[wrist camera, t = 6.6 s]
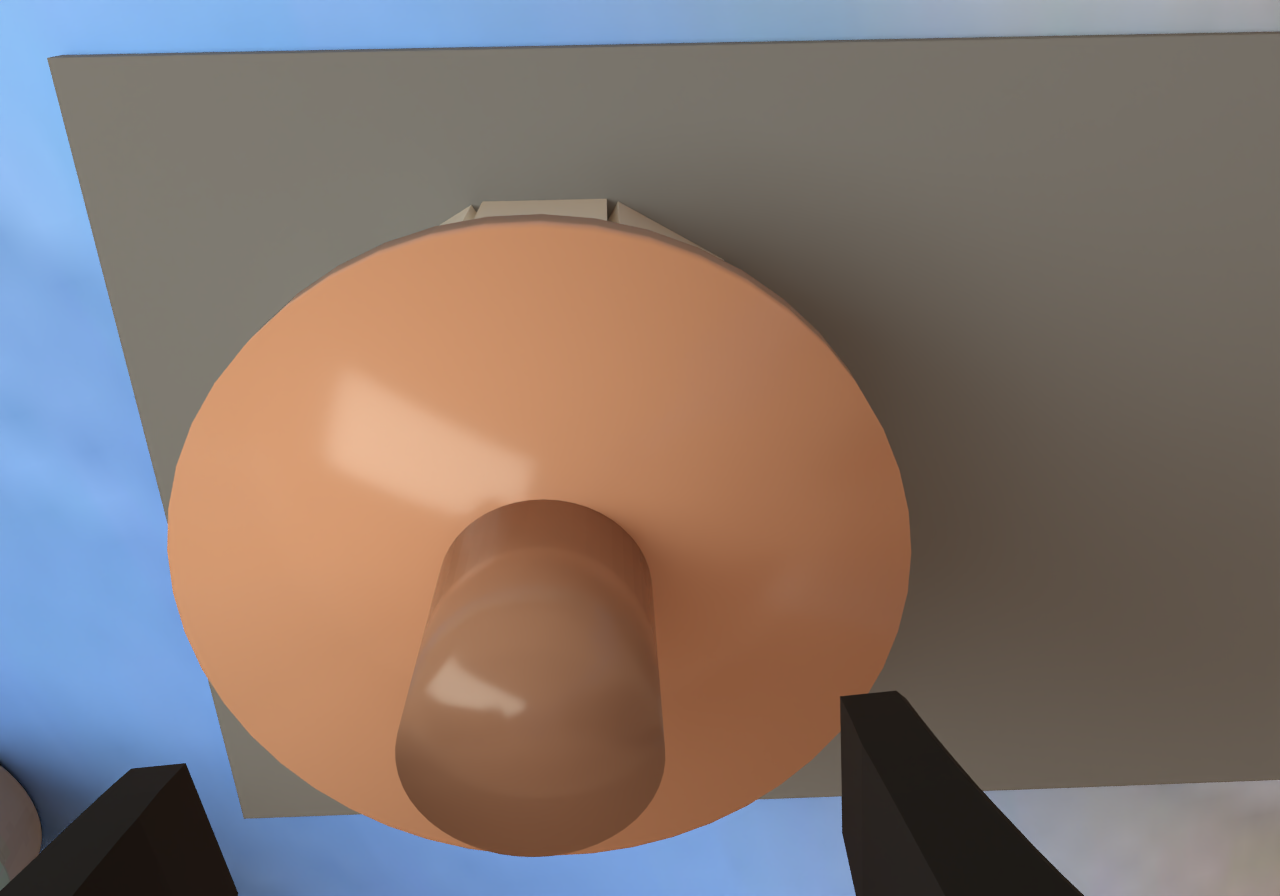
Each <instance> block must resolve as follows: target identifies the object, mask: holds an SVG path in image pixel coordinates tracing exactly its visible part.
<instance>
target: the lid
mask: <svg viewBox="0 0 1280 896" xmlns="http://www.w3.org/2000/svg"><path fill="white" fill-rule="evenodd" d="M167 552H168V559H169V566H170V574H171V581H172V588H173V594H174V597H175V601H176V604H177V607H178V611H179V614H180V617H181V621H182V624H183V627H184V631H185V633H186V636H187V638H188V640H189V642H190V644H191V646H192V648H193V651H194V653H195V655H196V657H197V659H198V661H199V664H200V666H201V668H202V670H203V671H204V673H205V674H206V676H207V678H208V679H209V681H210V682H211V684H212V685H213V687H214V689H215V690H216V692H217V693H218V695H219V696H220V698H221V699H222V701H223V703H224V704H225V705H226V706H227V708H228V709H229V710H230V711H231V712H232V714H233V715H234V716H235V717H236V718H237V719H238V721H239V722H240V723H241V724H242V725H243V727H244V728H245V729H246V730H247V731H248V733H249V734H250V735H251V736H252V737H253V738H254V739H255V740H256V741H258V742H259V743H260V744H261V745H262V746H263V747H264V748H265V749H266V750H267V751H268V752H269V753H270V754H271V755H273V756H274V757H275V758H276V759H277V760H278V761H279V762H280V763H281V764H283V765H284V766H285V767H287V768H288V769H289V770H291V771H292V772H293V773H295V774H296V775H297V776H299V777H300V778H302V779H303V780H304V781H306V782H307V783H308V784H310V785H311V786H312V787H314V788H315V789H317V790H319V791H320V792H322V793H324V794H326V795H327V796H329V797H331V798H332V799H334V800H336V801H338V802H339V803H341V804H343V805H345V806H346V807H348V808H350V809H352V810H354V811H356V812H358V813H361V814H363V815H365V816H367V817H370V818H372V819H374V820H376V821H378V822H381V823H383V824H385V825H387V826H390V827H393V828H396V829H399V830H402V831H405V832H408V833H411V834H414V835H417V836H420V837H423V838H426V839H429V840H434V841H438V842H442V843H447V844H451V845H455V846H460V847H464V848H468V849H476V850H483V851H490V852H494V853H498V854H504V855H512V856H523V857H541V856H554V855H569V854H586V853H597V852H603V851H610V850H616V849H623V848H629V847H635V846H639V845H643V844H647V843H651V842H655V841H658V840H662V839H666V838H670V837H674V836H677V835H679V834H682V833H685V832H688V831H690V830H693V829H696V828H699V827H701V826H704V825H707V824H710V823H712V822H714V821H716V820H718V819H720V818H722V817H724V816H727V815H729V814H731V813H733V812H735V811H737V810H739V809H741V808H743V807H745V806H747V805H749V804H750V803H752V802H754V801H755V800H757V799H758V798H760V797H762V796H763V795H765V794H766V793H768V792H770V791H771V790H773V789H775V788H776V787H778V786H779V785H781V784H782V783H783V782H785V781H786V780H787V779H788V778H790V777H791V776H792V775H794V774H795V773H796V772H797V771H799V770H800V769H801V768H802V767H804V766H805V765H806V764H807V763H809V762H810V761H811V760H812V759H813V758H814V757H815V756H816V755H817V754H818V753H819V752H820V751H821V750H822V749H823V748H824V747H825V746H826V745H827V744H828V743H829V742H830V741H831V740H832V739H833V738H834V737H835V736H836V735H837V734H838V733H839V732H840V731H841V726H840V696H847V695H857V694H867V693H869V691H870V689H871V688H872V686H873V684H874V682H875V681H876V679H877V677H878V676H879V674H880V672H881V670H882V669H883V667H884V664H885V662H886V659H887V657H888V655H889V652H890V650H891V647H892V645H893V642H894V640H895V637H896V635H897V633H898V629H899V625H900V621H901V617H902V613H903V609H904V605H905V601H906V597H907V593H908V583H909V572H910V561H911V540H910V524H909V511H908V506H907V502H906V497H905V492H904V488H903V483H902V479H901V474H900V470H899V467H898V465H897V462H896V460H895V457H894V455H893V452H892V450H891V447H890V444H889V442H888V439H887V437H886V434H885V432H884V429H883V427H882V426H881V424H880V422H879V421H878V419H877V417H876V415H875V414H874V412H873V410H872V409H871V407H870V405H869V403H868V402H867V400H866V398H865V396H864V395H863V393H862V391H861V390H860V388H859V386H858V385H857V383H856V381H855V380H854V378H853V376H852V374H851V373H850V371H849V369H848V368H847V367H846V365H845V364H844V363H843V362H842V360H841V359H840V358H839V357H838V355H837V354H836V353H835V352H834V350H833V349H832V348H831V347H830V345H829V344H828V343H827V342H826V340H825V339H824V338H823V337H822V335H821V334H820V333H819V332H818V331H817V330H816V329H815V328H814V327H813V326H812V325H811V324H810V323H809V322H808V321H807V320H806V319H804V318H803V317H802V316H801V315H800V314H799V313H798V312H797V311H796V310H795V309H794V308H793V307H792V306H791V305H789V304H788V303H787V302H786V301H785V300H784V299H783V298H781V297H780V296H778V295H777V294H776V293H774V292H773V291H771V290H770V289H769V288H767V287H766V286H764V285H763V284H761V283H760V282H759V281H757V280H756V279H754V278H753V277H751V276H750V275H749V274H747V273H746V272H744V271H743V270H741V269H739V268H737V267H735V266H733V265H731V264H729V263H727V262H725V261H723V260H721V259H719V258H717V257H716V256H714V255H712V254H710V253H708V252H706V251H704V250H702V249H700V248H698V247H695V246H693V245H690V244H687V243H684V242H681V241H679V240H676V239H673V238H670V237H667V236H665V235H662V234H659V233H656V232H653V231H651V230H648V229H643V228H638V227H634V226H629V225H624V224H620V223H615V222H610V221H606V220H601V219H596V218H585V217H573V216H560V215H548V214H531V215H511V216H491V217H483V218H478V219H472V220H467V221H461V222H456V223H450V224H445V225H439V226H434V227H431V228H428V229H425V230H422V231H419V232H416V233H413V234H410V235H407V236H404V237H401V238H398V239H395V240H392V241H389V242H385V243H383V244H381V245H379V246H377V247H375V248H373V249H371V250H369V251H367V252H365V253H363V254H361V255H359V256H357V257H355V258H353V259H351V260H348V261H346V262H344V263H342V264H340V265H338V266H337V267H336V268H334V269H333V270H331V271H330V272H328V273H327V274H325V275H324V276H322V277H321V278H319V279H318V280H316V281H315V282H313V283H312V284H311V285H309V286H308V287H306V288H305V289H303V290H302V291H300V292H299V293H297V294H296V295H295V296H294V297H293V298H292V299H291V300H290V301H289V302H288V303H287V304H286V305H284V306H283V307H282V308H281V309H280V310H279V311H278V312H277V313H276V314H275V315H274V316H273V317H271V318H270V319H269V320H268V321H267V322H266V323H265V324H264V325H263V326H262V327H261V328H260V329H259V330H258V331H257V332H256V333H255V335H254V336H253V337H252V338H251V339H250V340H249V341H248V342H247V343H246V344H245V346H244V347H243V348H242V349H241V351H240V352H239V353H238V354H237V356H236V357H235V358H234V359H233V361H232V362H231V363H230V364H229V366H228V367H227V368H226V369H225V371H224V372H223V373H222V374H221V376H220V377H219V378H218V379H217V381H216V382H215V383H214V385H213V387H212V388H211V390H210V392H209V394H208V396H207V397H206V399H205V401H204V403H203V404H202V406H201V408H200V410H199V412H198V413H197V415H196V417H195V419H194V421H193V422H192V424H191V427H190V430H189V432H188V435H187V438H186V441H185V443H184V446H183V449H182V452H181V454H180V457H179V460H178V463H177V465H176V470H175V476H174V481H173V486H172V492H171V497H170V502H169V508H168V546H167Z"/></svg>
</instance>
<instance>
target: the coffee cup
mask: <svg viewBox="0 0 1280 896" xmlns="http://www.w3.org/2000/svg"><path fill="white" fill-rule="evenodd" d="M41 841H42V831H41V824H40V820H39V817H38V813H37V811H36V809H35V806H34V804H33V802H32V801H31V799H30V797H29V796H28V794H27V793H26V791H25V790H24V788H23V787H22V786H21V785H20V784H19V782H18V781H17V780H16V779H15V778H14V777H13V776H12V775H11V774H10V773H9V772H8V771H7V770H6V769H4V768H3V767H2V766H1V765H0V891H1V890H2V889H3V888H4V887H5V886H6V885H7V884H8V883H9V882H10V881H11V880H12V879H13V878H14V877H15V876H17V875H18V874H19V873H20V872H21V871H22V870H23V869H24V868H25V867H26V866H27V865H28V864H29V863H30V862H31V861H32V860H33V859H35V858H36V857H37V856H38V855H39V852H40V848H41Z"/></svg>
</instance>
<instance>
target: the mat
mask: <svg viewBox="0 0 1280 896" xmlns="http://www.w3.org/2000/svg"><path fill="white" fill-rule="evenodd" d="M47 59H48V63H49V67H50V71H51V74H52V78H53V82H54V86H55V90H56V94H57V98H58V102H59V105H60V109H61V113H62V117H63V121H64V125H65V129H66V132H67V136H68V140H69V144H70V148H71V152H72V156H73V160H74V163H75V167H76V171H77V175H78V179H79V183H80V187H81V190H82V194H83V198H84V202H85V206H86V210H87V214H88V217H89V221H90V225H91V229H92V233H93V237H94V241H95V245H96V248H97V252H98V256H99V260H100V264H101V268H102V272H103V275H104V279H105V283H106V287H107V291H108V295H109V299H110V303H111V306H112V310H113V314H114V318H115V322H116V326H117V330H118V333H119V337H120V341H121V345H122V349H123V353H124V357H125V360H126V364H127V368H128V372H129V376H130V380H131V384H132V388H133V391H134V395H135V399H136V403H137V407H138V411H139V415H140V418H141V422H142V426H143V430H144V434H145V438H146V442H147V446H148V449H149V453H150V457H151V461H152V465H153V469H154V473H155V476H156V480H157V484H158V488H159V492H160V496H161V500H162V503H163V507H164V511H165V515H166V519H167V523H168V508H169V502H170V497H171V492H172V486H173V481H174V476H175V470H176V465H177V463H178V460H179V457H180V454H181V452H182V449H183V446H184V443H185V441H186V438H187V435H188V432H189V430H190V427H191V424H192V422H193V421H194V419H195V417H196V415H197V413H198V412H199V410H200V408H201V406H202V404H203V403H204V401H205V399H206V397H207V396H208V394H209V392H210V390H211V388H212V387H213V385H214V383H215V382H216V381H217V379H218V378H219V377H220V376H221V374H222V373H223V372H224V371H225V369H226V368H227V367H228V366H229V364H230V363H231V362H232V361H233V359H234V358H235V357H236V356H237V354H238V353H239V352H240V351H241V349H242V348H243V347H244V346H245V344H246V343H247V342H248V341H249V340H250V339H251V338H252V337H253V336H254V335H255V333H256V332H257V331H258V330H259V329H260V328H261V327H262V326H263V325H264V324H265V323H266V322H267V321H268V320H269V319H270V318H271V317H273V316H274V315H275V314H276V313H277V312H278V311H279V310H280V309H281V308H282V307H283V306H284V305H286V304H287V303H288V302H289V301H290V300H291V299H292V298H293V297H294V296H295V295H296V294H297V293H299V292H300V291H302V290H303V289H305V288H306V287H308V286H309V285H311V284H312V283H313V282H315V281H316V280H318V279H319V278H321V277H322V276H324V275H325V274H327V273H328V272H330V271H331V270H333V269H334V268H336V267H337V266H338V265H340V264H342V263H344V262H346V261H348V260H351V259H353V258H355V257H357V256H359V255H361V254H363V253H365V252H367V251H369V250H371V249H373V248H375V247H377V246H379V245H381V244H383V243H385V242H389V241H392V240H395V239H398V238H401V237H404V236H407V235H410V234H413V233H416V232H419V231H422V230H425V229H428V228H431V227H434V226H439V225H440V224H442V223H443V222H445V221H447V220H448V219H450V218H451V217H453V216H454V215H456V214H458V213H459V212H461V211H462V210H464V209H465V208H467V207H469V206H470V205H472V207H473V208H474V210H475V211H476V213H477V211H478V209H479V207H480V205H481V203H482V202H484V201H527V200H571V199H607V221H608V219H609V217H610V215H611V213H612V212H613V210H614V208H615V206H616V204H617V202H620V203H622V204H624V205H625V206H627V207H629V208H631V209H633V210H634V211H636V212H638V213H640V214H642V215H644V216H645V217H647V218H649V219H651V220H653V221H654V222H656V223H658V224H660V225H662V226H664V227H665V228H667V229H669V230H671V231H673V232H674V233H676V234H678V235H680V236H682V237H684V238H685V239H687V240H689V241H691V242H693V243H695V244H696V245H698V246H700V247H702V248H704V249H705V250H707V251H709V252H711V253H713V254H715V255H716V256H718V257H720V258H722V259H724V261H725V262H727V263H729V264H731V265H733V266H735V267H737V268H739V269H741V270H743V271H744V272H746V273H747V274H749V275H750V276H751V277H753V278H754V279H756V280H757V281H759V282H760V283H761V284H763V285H764V286H766V287H767V288H769V289H770V290H771V291H773V292H774V293H776V294H777V295H778V296H780V297H781V298H783V299H784V300H785V301H786V302H787V303H788V304H789V305H791V306H792V307H793V308H794V309H795V310H796V311H797V312H798V313H799V314H800V315H801V316H802V317H803V318H804V319H806V320H807V321H808V322H809V323H810V324H811V325H812V326H813V327H814V328H815V329H816V330H817V331H818V332H819V333H820V334H821V335H822V337H823V338H824V339H825V340H826V342H827V343H828V344H829V345H830V347H831V348H832V349H833V350H834V352H835V353H836V354H837V355H838V357H839V358H840V359H841V360H842V362H843V363H844V364H845V365H846V367H847V368H848V369H849V371H850V373H851V374H852V376H853V378H854V380H855V381H856V383H857V385H858V386H859V388H860V390H861V391H862V393H863V395H864V396H865V398H866V400H867V402H868V403H869V405H870V407H871V409H872V410H873V412H874V414H875V415H876V417H877V419H878V421H879V422H880V424H881V426H882V427H883V429H884V432H885V434H886V437H887V439H888V442H889V444H890V447H891V450H892V452H893V455H894V457H895V460H896V462H897V465H898V467H899V470H900V474H901V479H902V483H903V488H904V492H905V497H906V502H907V506H908V511H909V524H910V540H911V561H910V572H909V583H908V593H907V597H906V601H905V605H904V609H903V613H902V617H901V621H900V625H899V629H898V633H897V635H896V637H895V640H894V642H893V645H892V647H891V650H890V652H889V655H888V657H887V659H886V662H885V664H884V667H883V669H882V670H881V672H880V674H879V676H878V677H877V679H876V681H875V682H874V684H873V686H872V688H871V689H870V691H869V693H877V692H887V691H897V692H899V693H900V694H901V695H902V696H904V697H905V698H906V699H907V700H908V702H909V703H910V704H911V706H912V707H913V708H914V709H915V711H916V712H917V713H918V715H919V716H920V717H921V718H922V720H923V721H924V722H925V723H926V725H927V726H928V727H929V729H930V730H931V731H932V732H933V733H934V735H935V736H936V737H937V738H938V740H939V741H940V742H941V743H942V744H943V746H944V747H945V748H946V749H947V750H948V752H949V753H950V754H951V755H952V756H953V758H954V759H955V760H956V761H957V762H958V763H959V765H960V766H961V767H962V768H963V769H964V770H965V772H966V773H967V774H968V775H969V776H970V777H971V779H972V780H973V781H974V782H975V783H976V784H977V785H978V786H979V788H980V789H981V790H982V791H993V790H1020V789H1047V788H1073V787H1100V786H1127V785H1153V784H1180V783H1207V782H1233V781H1260V780H1280V32H1238V33H1186V34H1134V35H1082V36H1031V37H979V38H927V39H875V40H824V41H772V42H720V43H668V44H616V45H565V46H513V47H461V48H409V49H358V50H306V51H254V52H202V53H150V54H99V55H60V56H55V57H50V58H47ZM208 681H209V679H208ZM209 685H210V689H211V693H212V697H213V701H214V704H215V708H216V712H217V716H218V720H219V724H220V728H221V731H222V735H223V739H224V743H225V747H226V751H227V755H228V759H229V762H230V766H231V770H232V774H233V778H234V782H235V786H236V789H237V793H238V797H239V801H240V805H241V809H242V813H243V817H244V819H246V818H273V817H299V816H326V815H353V814H361V813H358V812H356V811H354V810H352V809H350V808H348V807H346V806H345V805H343V804H341V803H339V802H338V801H336V800H334V799H332V798H331V797H329V796H327V795H326V794H324V793H322V792H320V791H319V790H317V789H315V788H314V787H312V786H311V785H310V784H308V783H307V782H306V781H304V780H303V779H302V778H300V777H299V776H297V775H296V774H295V773H293V772H292V771H291V770H289V769H288V768H287V767H285V766H284V765H283V764H281V763H280V762H279V761H278V760H277V759H276V758H275V757H274V756H273V755H271V754H270V753H269V752H268V751H267V750H266V749H265V748H264V747H263V746H262V745H261V744H260V743H259V742H258V741H256V740H255V739H254V738H253V737H252V736H251V735H250V734H249V733H248V731H247V730H246V729H245V728H244V727H243V725H242V724H241V723H240V722H239V721H238V719H237V718H236V717H235V716H234V715H233V714H232V712H231V711H230V710H229V709H228V708H227V706H226V705H225V704H224V703H223V701H222V699H221V698H220V696H219V695H218V693H217V692H216V690H215V689H214V687H213V685H212V684H211V682H210V681H209ZM833 796H842V782H841V731H840V732H839V733H838V734H837V735H836V736H835V737H834V738H833V739H832V740H831V741H830V742H829V743H828V744H827V745H826V746H825V747H824V748H823V749H822V750H821V751H820V752H819V753H818V754H817V755H816V756H815V757H814V758H813V759H812V760H811V761H810V762H809V763H807V764H806V765H805V766H804V767H802V768H801V769H800V770H799V771H797V772H796V773H795V774H794V775H792V776H791V777H790V778H788V779H787V780H786V781H785V782H783V783H782V784H781V785H779V786H778V787H776V788H775V789H773V790H771V791H770V792H768V793H766V794H765V795H763V796H762V797H760V798H758V799H780V798H806V797H833Z"/></svg>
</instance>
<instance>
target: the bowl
mask: <svg viewBox="0 0 1280 896" xmlns="http://www.w3.org/2000/svg"><path fill="white" fill-rule="evenodd" d="M531 214H548V215H560V216H573V217H585V218H596V219H601V220H606V221H607V199H571V200H527V201H484V202H482V203H481V205H480V207H479V209H478V211H477V213H476V211H475V210H474V208H473V207H472V205H470V206H469V207H467V208H465V209H464V210H462V211H461V212H459V213H458V214H456V215H454V216H453V217H451V218H450V219H448V220H447V221H445V222H443V223H442V224H440V225H445V224H450V223H456V222H461V221H467V220H472V219H478V218H483V217H491V216H511V215H531ZM608 221H610V222H615V223H620V224H624V225H629V226H634V227H638V228H643V229H648V230H651V231H653V232H656V233H659V234H662V235H665V236H667V237H670V238H673V239H676V240H679V241H681V242H684V243H687V244H690V245H693V246H695V247H698V248H700V249H702V250H704V251H706V252H708V253H710V254H712V255H714V256H716V255H715V254H713V253H711V252H709V251H707V250H705V249H704V248H702V247H700V246H698V245H696V244H695V243H693V242H691V241H689V240H687V239H685V238H684V237H682V236H680V235H678V234H676V233H674V232H673V231H671V230H669V229H667V228H665V227H664V226H662V225H660V224H658V223H656V222H654V221H653V220H651V219H649V218H647V217H645V216H644V215H642V214H640V213H638V212H636V211H634V210H633V209H631V208H629V207H627V206H625V205H624V204H622V203H620V202H617V204H616V206H615V208H614V210H613V212H612V213H611V215H610V217H609V219H608ZM716 257H717V258H719V259H721V260H723V261H724V259H722V258H720V257H718V256H716Z"/></svg>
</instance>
